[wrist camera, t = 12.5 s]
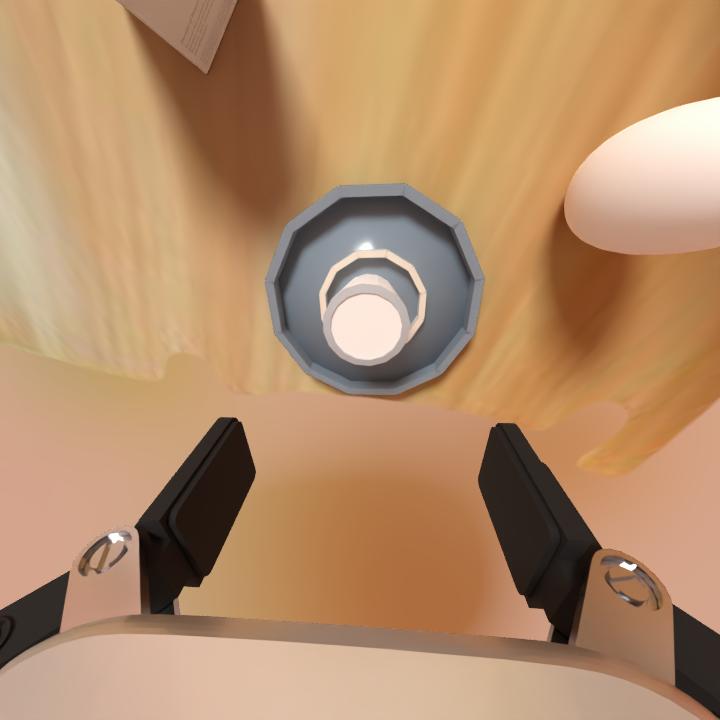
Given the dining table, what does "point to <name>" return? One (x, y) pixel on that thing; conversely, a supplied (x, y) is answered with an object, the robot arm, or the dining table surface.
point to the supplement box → (186, 25)
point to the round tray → (388, 260)
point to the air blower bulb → (652, 185)
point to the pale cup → (366, 321)
